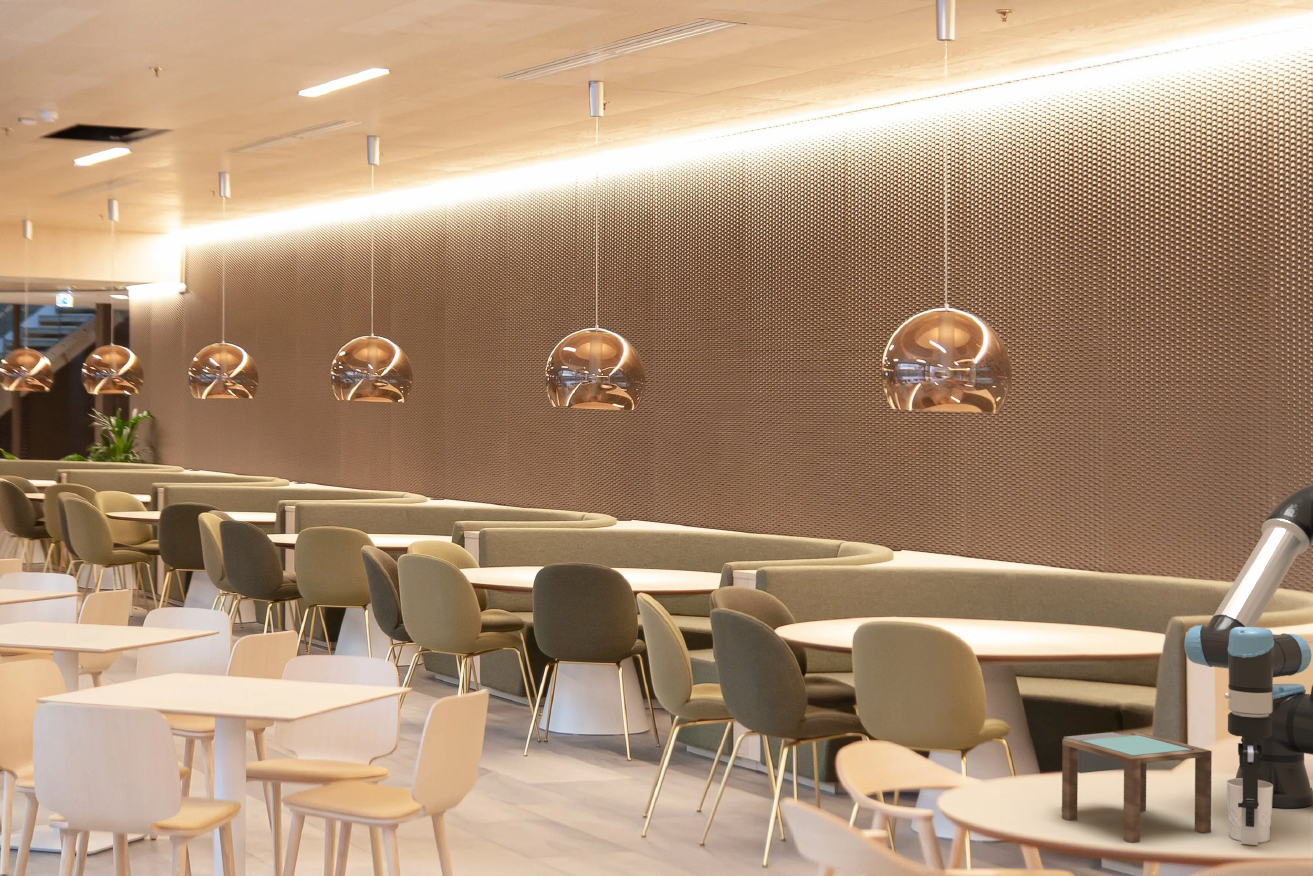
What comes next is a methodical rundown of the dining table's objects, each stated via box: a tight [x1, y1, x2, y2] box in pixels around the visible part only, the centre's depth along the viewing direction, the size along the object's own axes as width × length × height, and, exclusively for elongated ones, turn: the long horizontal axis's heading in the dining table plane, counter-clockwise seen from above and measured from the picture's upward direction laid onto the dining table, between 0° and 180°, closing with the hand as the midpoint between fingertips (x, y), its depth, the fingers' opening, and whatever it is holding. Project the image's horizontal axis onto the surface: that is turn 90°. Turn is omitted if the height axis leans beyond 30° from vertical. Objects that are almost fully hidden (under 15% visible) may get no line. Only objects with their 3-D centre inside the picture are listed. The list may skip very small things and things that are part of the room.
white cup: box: [1225, 777, 1273, 844], centre depth 267 cm, size 8×8×10 cm
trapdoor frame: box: [1061, 731, 1213, 844], centre depth 275 cm, size 19×19×15 cm
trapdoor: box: [1063, 731, 1192, 774], centre depth 278 cm, size 14×20×7 cm
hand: (1248, 837), depth 267 cm, fingers open, 9 cm apart
